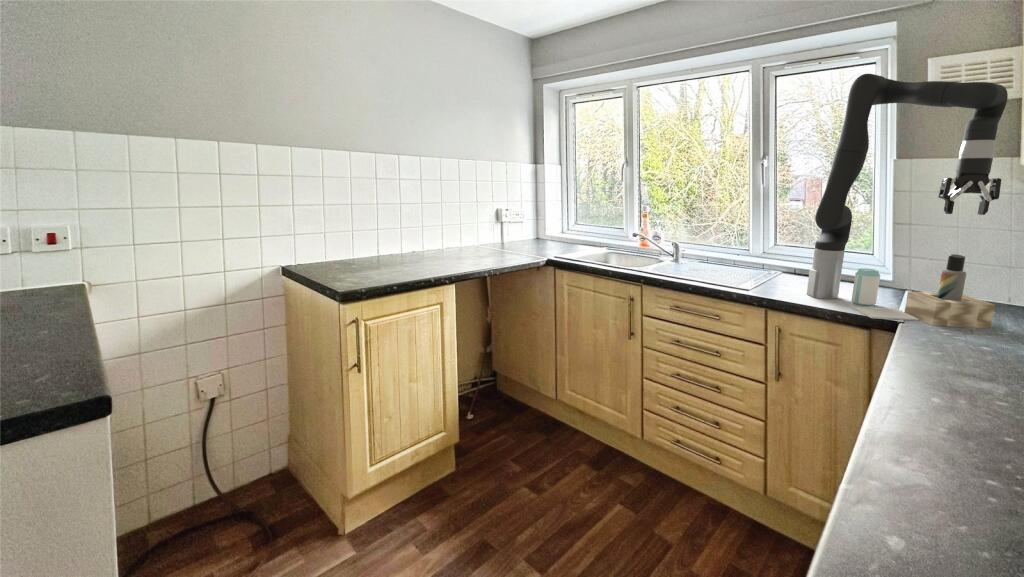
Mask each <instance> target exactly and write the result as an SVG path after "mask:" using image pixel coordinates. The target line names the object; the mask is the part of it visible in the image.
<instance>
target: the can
mask: <svg viewBox="0 0 1024 577" xmlns="http://www.w3.org/2000/svg"><path fill="white" fill-rule="evenodd" d="M880 280H881V274H880V271H879V270H878V269H874V268H866V267H865V268H862V267H861V268H858V269H857V271H856V272H855V275H854V280H853V286H852V293H851V300H850V301H851V302H852V303H853V304H854V305H857V306H861V307H873V306H874V305H876V304H877V298H878V292H879V287H880Z"/></svg>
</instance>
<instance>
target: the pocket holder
mask: <svg viewBox="0 0 1024 577" xmlns="http://www.w3.org/2000/svg"><path fill="white" fill-rule="evenodd" d="M937 295H938V292H929V291H907V295H906V301H905V308H904V311H903V312H904V313H907V314H909V315H911V316H913V317H915V318H918V319H919V320H920V321H921V322H924V323H926V324H929V325H931V326H936V327H937V326H938V327H939V326H941V327H957V328H959V327H960V328H976V329H978V328H979V329H991V327H992V323H993V318H994V314H995V310H996V304H994V303H991V302H987V301H984V300H982V299H979V298H976V297H973V296H970V295H966V294H963V295H962V300H961V301H958V300H942V299H939V298H937Z"/></svg>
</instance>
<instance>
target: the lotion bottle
mask: <svg viewBox="0 0 1024 577" xmlns="http://www.w3.org/2000/svg"><path fill="white" fill-rule="evenodd" d="M965 262H966V256H964V255H962V254H953V253H952V254H950V255H948V259H947V263H946V269H943V270H941V274H940V278H939V285H938V291H937V293H938V295H937V298H939V299H942V300H958V301H961V300H962V295H963V293H964V289H965V288H964V287H965V285H966V284H965V283H966V280H967V279H966V278H967V271H964V266H965Z"/></svg>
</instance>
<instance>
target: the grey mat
mask: <svg viewBox="0 0 1024 577" xmlns="http://www.w3.org/2000/svg"><path fill="white" fill-rule="evenodd" d="M852 309H853V310H855V311H857V312H859V313H860V314H863V315H864V316H867V317H868V318H870V319H876V320H877V319H879V320H895V319H900V320H901V321H919V319H918V318H915V317H913V316H911V315H909V314H907V313H904V312H905V311H902V310H899V309H897V308H886V307H885V308H884V307H868V306H852ZM885 318H886V319H885ZM900 320H899V321H900Z"/></svg>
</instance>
